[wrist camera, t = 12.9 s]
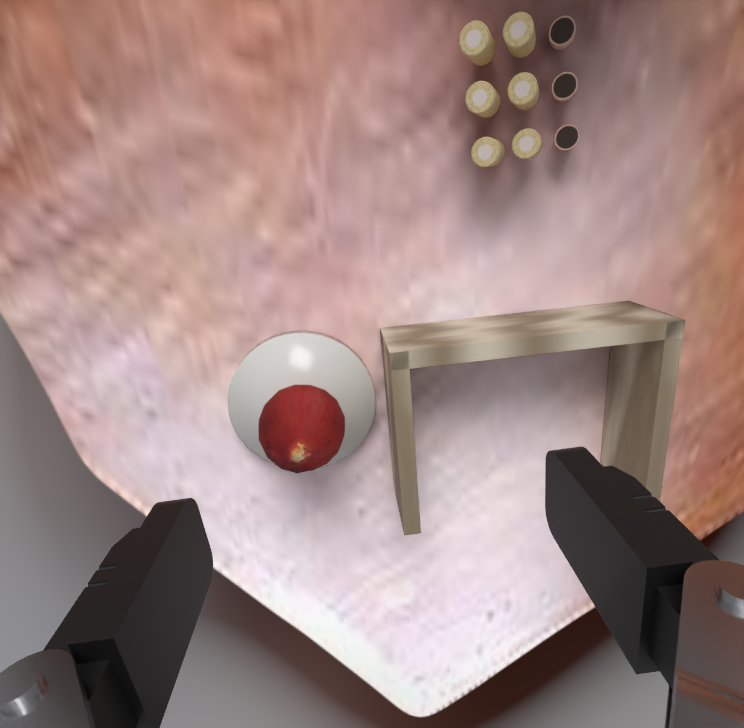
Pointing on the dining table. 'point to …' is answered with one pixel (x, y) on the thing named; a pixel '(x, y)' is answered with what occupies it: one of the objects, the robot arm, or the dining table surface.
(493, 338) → the wooden plank arch
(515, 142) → the ammunition
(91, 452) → the dining table surface
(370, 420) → the white flat disc
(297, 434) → the onion
